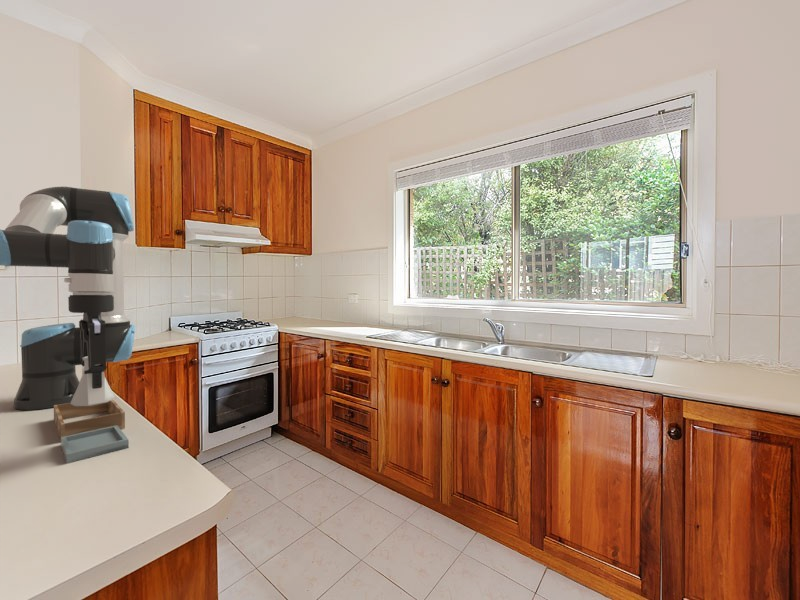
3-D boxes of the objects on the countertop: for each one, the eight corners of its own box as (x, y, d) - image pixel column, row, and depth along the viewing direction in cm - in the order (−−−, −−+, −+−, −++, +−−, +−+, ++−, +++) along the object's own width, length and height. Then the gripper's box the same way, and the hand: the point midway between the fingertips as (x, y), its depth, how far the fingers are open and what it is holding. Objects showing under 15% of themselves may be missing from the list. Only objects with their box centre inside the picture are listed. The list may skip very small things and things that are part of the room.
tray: (60, 445, 81) (60, 437, 81) (117, 432, 88) (117, 425, 88) (66, 463, 73) (66, 454, 73) (128, 447, 80) (128, 439, 80)
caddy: (54, 420, 96) (53, 405, 96) (110, 410, 104) (109, 396, 104) (61, 442, 83) (61, 424, 83) (125, 428, 91) (124, 412, 91)
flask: (89, 408, 76) (88, 360, 75) (61, 406, 77) (60, 358, 77) (122, 398, 83) (122, 354, 83) (96, 396, 84) (96, 352, 84)
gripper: (63, 293, 84) (65, 393, 84) (74, 294, 70) (76, 414, 71) (105, 293, 89) (106, 387, 90) (123, 294, 75) (124, 405, 76)
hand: (93, 398), depth 80 cm, fingers closed on flask, 7 cm apart
